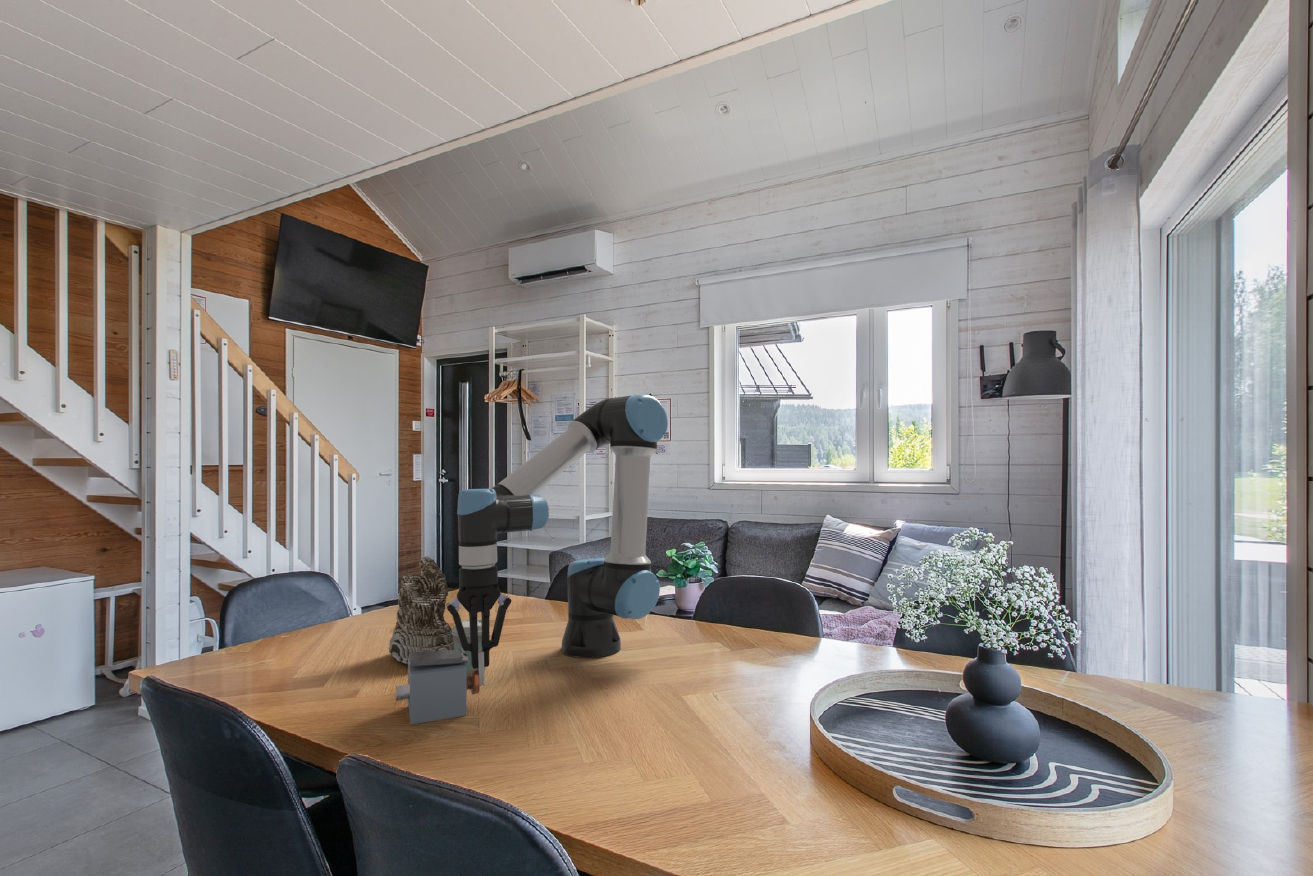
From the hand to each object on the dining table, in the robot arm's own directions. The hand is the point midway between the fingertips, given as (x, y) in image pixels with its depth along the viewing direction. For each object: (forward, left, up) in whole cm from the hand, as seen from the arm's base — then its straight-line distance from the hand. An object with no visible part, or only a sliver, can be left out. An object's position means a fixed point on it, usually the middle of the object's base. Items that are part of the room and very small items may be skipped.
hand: (480, 683), depth 130 cm
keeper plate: (+8, 0, +6) cm, 10 cm away
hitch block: (+8, 0, -4) cm, 9 cm away
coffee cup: (-1, -18, -4) cm, 19 cm away
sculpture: (+8, -37, -4) cm, 38 cm away
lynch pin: (+8, 0, -2) cm, 8 cm away
